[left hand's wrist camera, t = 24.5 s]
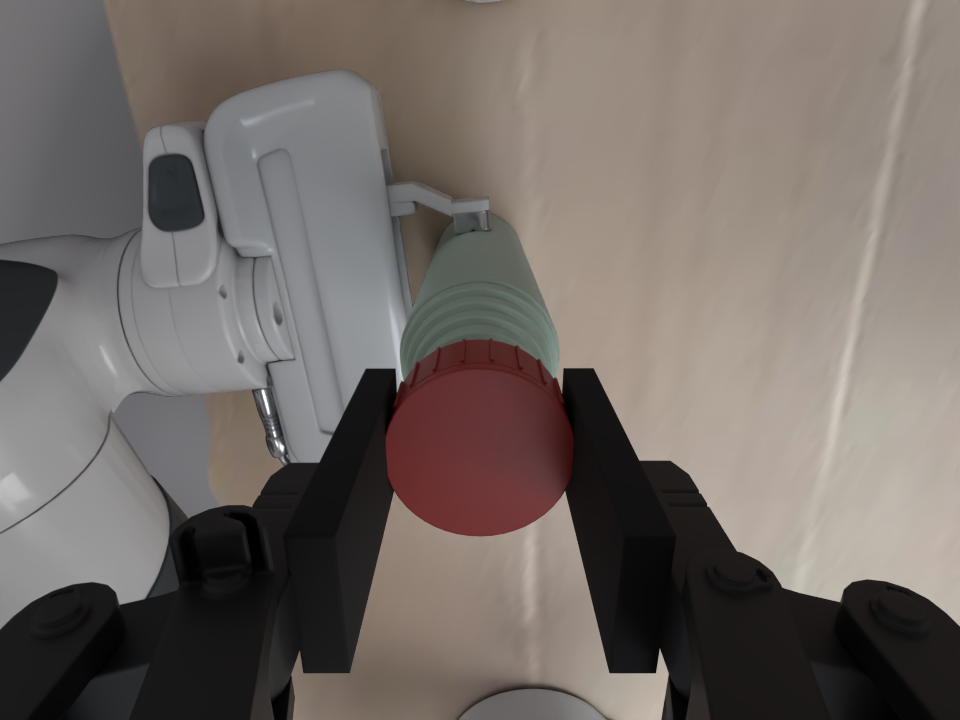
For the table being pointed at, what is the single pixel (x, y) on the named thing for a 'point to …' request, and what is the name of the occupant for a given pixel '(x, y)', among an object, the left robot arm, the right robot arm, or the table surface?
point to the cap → (479, 439)
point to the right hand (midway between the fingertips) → (496, 278)
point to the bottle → (479, 298)
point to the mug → (483, 1)
